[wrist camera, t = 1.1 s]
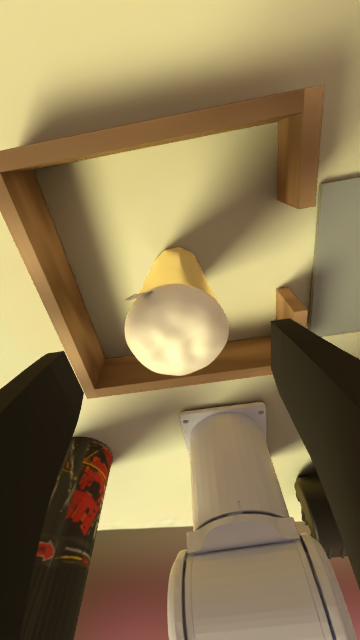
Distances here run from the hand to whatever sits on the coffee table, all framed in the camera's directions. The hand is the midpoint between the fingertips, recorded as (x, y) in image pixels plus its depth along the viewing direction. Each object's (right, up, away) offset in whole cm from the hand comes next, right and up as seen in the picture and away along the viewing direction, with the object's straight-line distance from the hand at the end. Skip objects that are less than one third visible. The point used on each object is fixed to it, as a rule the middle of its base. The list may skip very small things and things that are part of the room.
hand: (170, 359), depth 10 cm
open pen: (0, +5, +9) cm, 11 cm away
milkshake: (0, +5, +9) cm, 11 cm away
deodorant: (-10, -13, +20) cm, 26 cm away
